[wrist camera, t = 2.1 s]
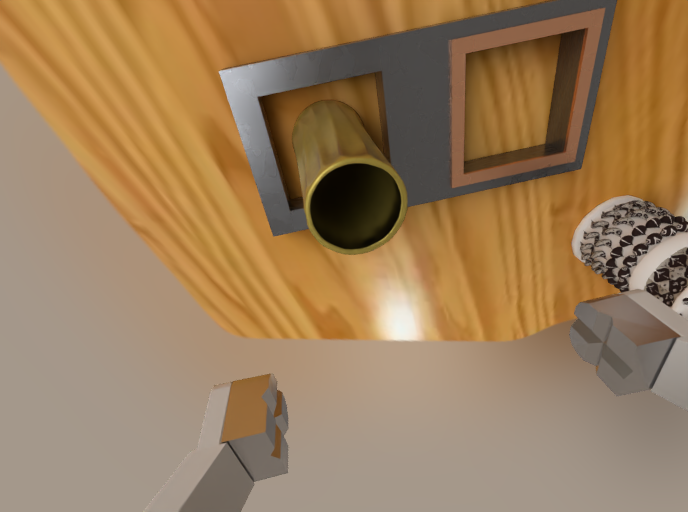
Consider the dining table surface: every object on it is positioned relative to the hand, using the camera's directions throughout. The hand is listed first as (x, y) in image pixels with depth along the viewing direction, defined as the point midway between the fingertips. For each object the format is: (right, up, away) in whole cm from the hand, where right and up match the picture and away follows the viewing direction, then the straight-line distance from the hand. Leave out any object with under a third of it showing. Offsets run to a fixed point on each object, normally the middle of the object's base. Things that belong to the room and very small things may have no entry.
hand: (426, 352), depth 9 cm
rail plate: (+4, +14, +20) cm, 25 cm away
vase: (-3, +12, +20) cm, 24 cm away
